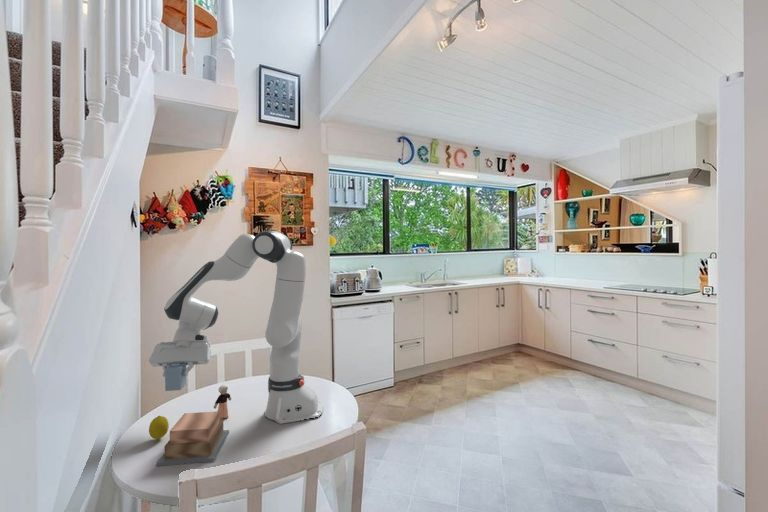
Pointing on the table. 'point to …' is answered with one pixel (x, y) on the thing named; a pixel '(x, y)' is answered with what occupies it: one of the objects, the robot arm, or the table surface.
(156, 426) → the lemon
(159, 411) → the table surface
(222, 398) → the grandmother figurine
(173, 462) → the baseplate
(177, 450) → the terracotta brick
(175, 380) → the blue knobbed block
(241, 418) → the table surface
